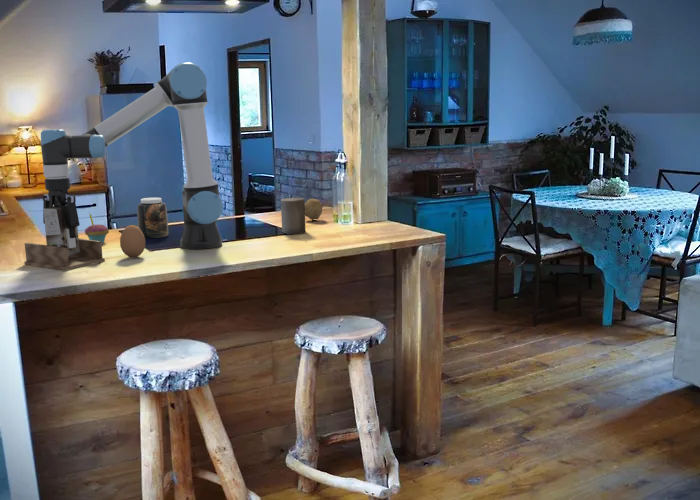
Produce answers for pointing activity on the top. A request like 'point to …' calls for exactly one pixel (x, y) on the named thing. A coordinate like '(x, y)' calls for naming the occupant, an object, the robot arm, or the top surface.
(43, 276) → the top surface
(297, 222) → the pillar candle
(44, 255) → the walnut rack
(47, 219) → the coffee box
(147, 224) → the jar
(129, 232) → the egg
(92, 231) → the cupcake
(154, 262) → the top surface
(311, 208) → the natural sponge
